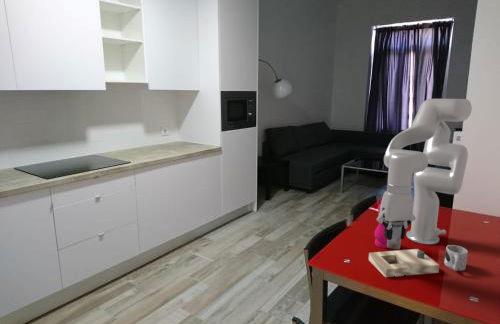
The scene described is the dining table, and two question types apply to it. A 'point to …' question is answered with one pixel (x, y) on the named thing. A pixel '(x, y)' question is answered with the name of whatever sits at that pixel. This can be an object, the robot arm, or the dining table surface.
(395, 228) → the silver domed cylinder
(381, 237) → the pepper mill
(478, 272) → the dining table surface
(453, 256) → the mug
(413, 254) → the jig
